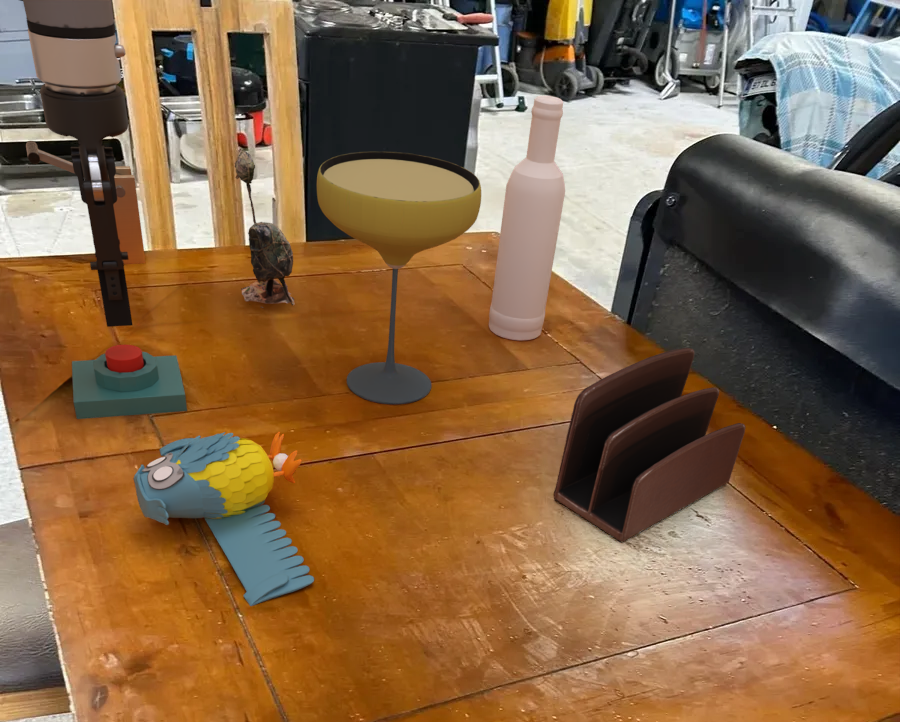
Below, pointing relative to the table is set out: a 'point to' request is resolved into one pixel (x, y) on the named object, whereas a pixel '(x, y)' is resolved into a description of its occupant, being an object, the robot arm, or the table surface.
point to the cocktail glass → (396, 234)
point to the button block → (127, 388)
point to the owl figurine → (228, 505)
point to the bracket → (128, 216)
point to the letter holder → (643, 446)
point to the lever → (46, 157)
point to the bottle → (529, 230)
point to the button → (124, 358)
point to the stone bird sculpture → (265, 250)
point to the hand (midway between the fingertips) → (119, 323)
